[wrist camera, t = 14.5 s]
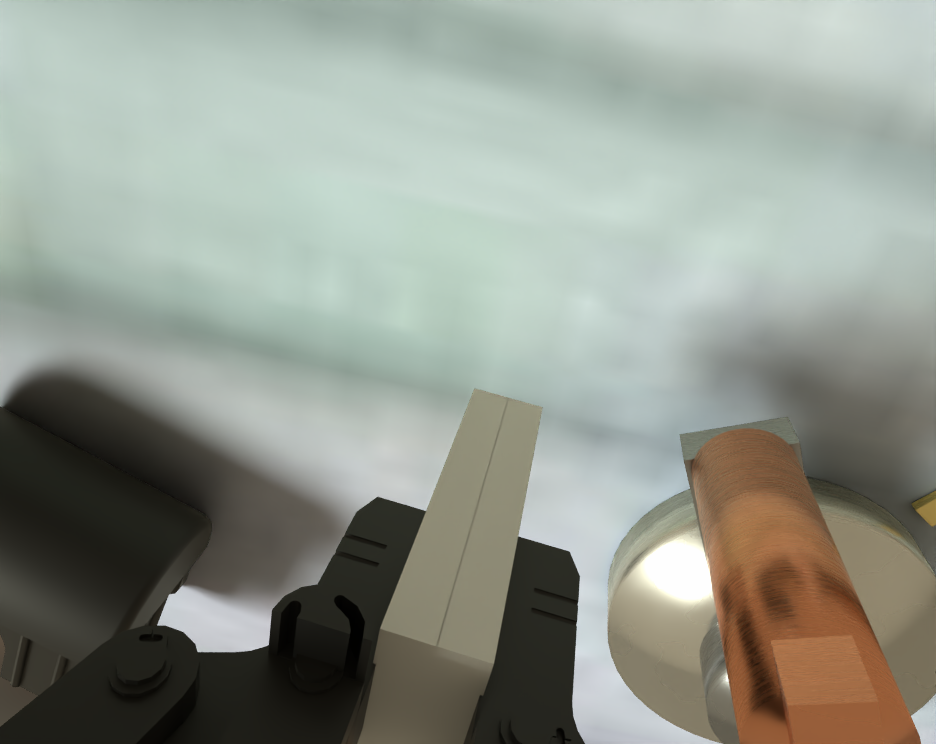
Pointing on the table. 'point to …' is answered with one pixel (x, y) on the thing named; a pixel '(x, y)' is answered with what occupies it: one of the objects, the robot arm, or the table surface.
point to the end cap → (80, 552)
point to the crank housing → (693, 608)
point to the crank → (782, 603)
